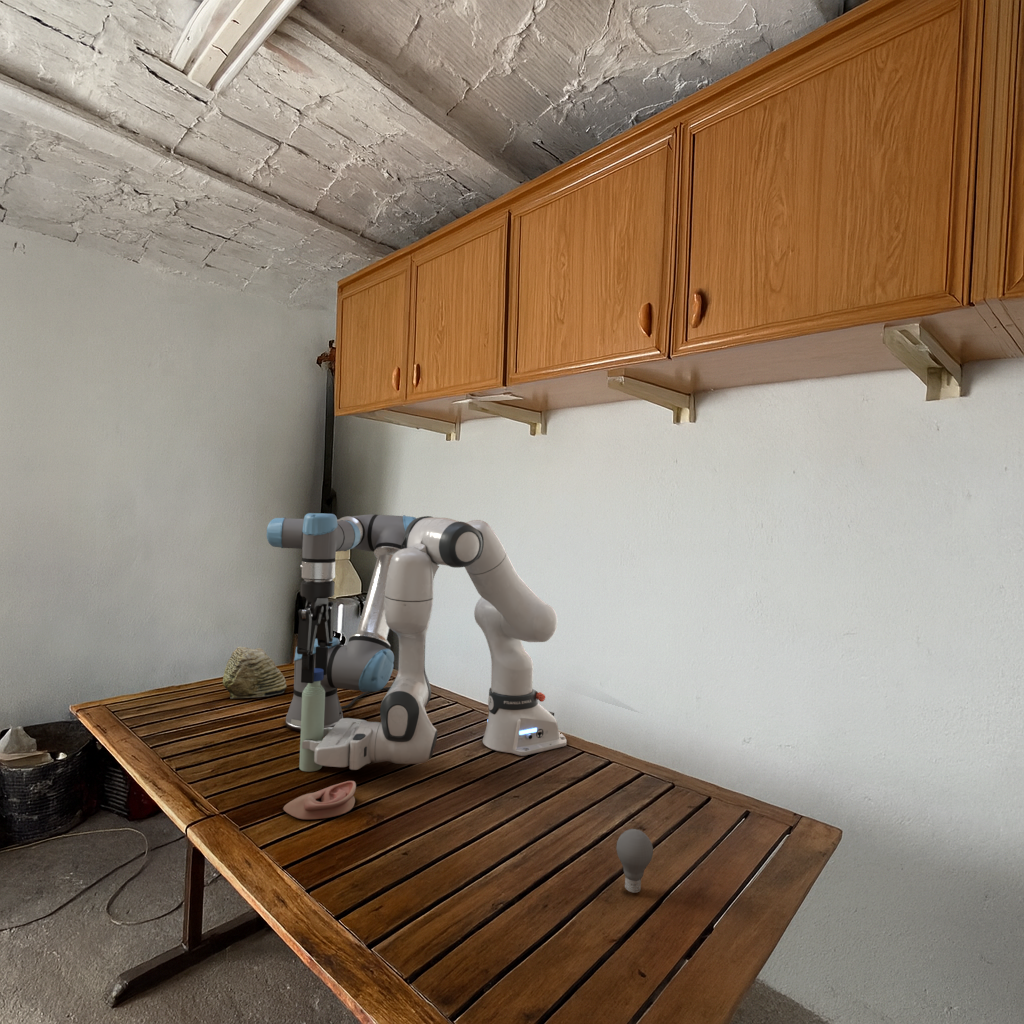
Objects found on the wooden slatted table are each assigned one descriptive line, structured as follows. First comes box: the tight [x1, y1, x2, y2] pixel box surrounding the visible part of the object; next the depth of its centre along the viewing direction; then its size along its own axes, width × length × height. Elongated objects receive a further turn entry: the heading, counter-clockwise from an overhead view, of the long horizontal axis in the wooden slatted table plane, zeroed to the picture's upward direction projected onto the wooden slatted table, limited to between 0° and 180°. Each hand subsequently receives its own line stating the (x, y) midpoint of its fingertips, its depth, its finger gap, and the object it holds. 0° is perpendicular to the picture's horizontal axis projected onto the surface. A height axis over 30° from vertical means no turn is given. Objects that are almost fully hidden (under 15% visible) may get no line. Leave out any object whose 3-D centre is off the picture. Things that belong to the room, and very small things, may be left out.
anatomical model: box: [282, 780, 357, 820], centre depth 129 cm, size 13×4×12 cm
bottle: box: [298, 681, 325, 773], centre depth 148 cm, size 5×5×22 cm
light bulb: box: [615, 828, 654, 894], centre depth 106 cm, size 6×6×10 cm
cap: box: [314, 668, 324, 682], centre depth 148 cm, size 4×4×2 cm
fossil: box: [222, 646, 288, 699], centre depth 198 cm, size 9×18×15 cm, turn 132°
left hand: (314, 678), depth 148 cm, fingers open, 6 cm apart
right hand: (308, 738), depth 148 cm, fingers closed on bottle, 5 cm apart
